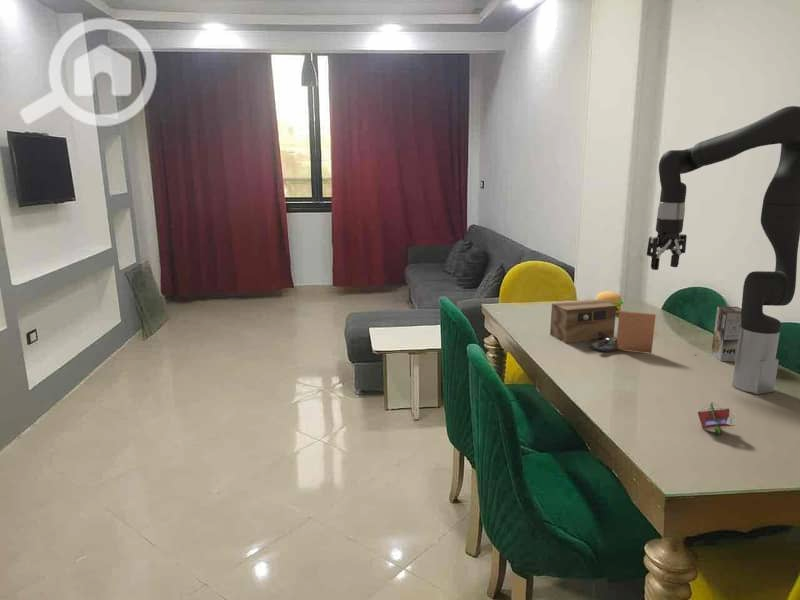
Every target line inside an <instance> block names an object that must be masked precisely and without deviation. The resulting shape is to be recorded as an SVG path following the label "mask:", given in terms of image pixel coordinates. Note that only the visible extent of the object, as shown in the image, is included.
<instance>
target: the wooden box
mask: <svg viewBox="0 0 800 600" xmlns="http://www.w3.org/2000/svg"><path fill="white" fill-rule="evenodd" d="M615 325H616V305H613V304H610V303H608V302H605V301H602V300H600V299H598V300H594V299H590V300H589V299H587V300H577V301H576V300H575V301H565V302H563V301H562V302H554V303H553V302H552V303H551V313H550V330H549V335H550V336H551V335H552V337H553V336H554V338H555V337H556V338H555V339H556V340H559V341H561V342H562V341H563V342H562V343H564V344H567V343H579V342H587V341H590V340H591V339H593V338H601V337H599V336H598V331H602V332H604V333H605V334H607V335H608V336H610V337H614V338H615ZM578 341H579V342H578Z"/></svg>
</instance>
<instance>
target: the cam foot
mask: <svg viewBox="0 0 800 600" xmlns="http://www.w3.org/2000/svg"><path fill="white" fill-rule="evenodd" d="M656 316H657V315H656V313H648V312H647V313H646V312H637V311H626V310H621V311H620V312H619V313H618V323H617V325H618V326H617V335H616V337H615V336H614V337H610V336H608V335H607V334H605V333H604V332H602V331H598V336H599V337H601V338H593V339H591V340H589V347H590V348H591V349H593V350H595V351H598V352H604V353H605V352H606V353H607V352H609V353H611V352H615V351H617V350H622V351H631V352H632V351H633V352H639V353H648V354H652V351H653V343H654V333H655V326H656V325H655V323H656Z"/></svg>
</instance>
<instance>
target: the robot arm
mask: <svg viewBox="0 0 800 600" xmlns="http://www.w3.org/2000/svg"><path fill="white" fill-rule="evenodd" d="M777 144H780V146H781V147H780V155H779V163H778V166H777V169H776V171H775V173H774V175H773V177H772V179H771V180H770V183H769V185H768V187H767V188H766V191H765V193H764V197H763V201H762V205H761V213H760V214H761V215H760V226H761V227H762V230H763V232H764V234H765V236H766V238H767V240H768V241H769V243H770V245H771V247H772V248H773V252H774V255H775V270H774V271H765V270H763V271H761V270H760V271H759V270H758V271H757V270H756V271H751V272H749V273H748V274H747V275H746V277H745V279H744V282H743V287H742V296H741V297H742V299H741V300H742V301H741V308H740V309H741V327H740V333H739V340H738V346H737V353H736V360H735V362H734V367H733V374H732V375H733V376H732V382H731V385H732V386H733V387H734V388H737V389H739V390H741V391H743V392H748V393H752V394H755V395H760V394H767V393H774V391H775V384H776V379H777V374H778V370H779V369H778V368H779V358H777V352H778V346H779V339H780V334H781V329H782V328H781V327H782V322H781V321H780V320H779V319H778V318H776V317H773V316H769V315H767V314H765V313H764V310H763V309H764V308H763V307H764V306H771V307H772V306H774V307H776V306H777V307H779V306H780V307H782V306H787V305H789V304H790V303H791V302H792V300H793V299H794V296H795V293H796V286H797V272H798V271H797V267H798V252H799V244H800V243H799V242H800V106H798V105H792V106H791V105H790V106H785V107H783V108H781V109H778V110H776V111H774V112H773V113H770V114H769V115H766V116H764V117H762V118H761V119H759V120H757V121H755V122H753V123H750V124H748V125H746V126H743V127H741V128H739V129H735V130H732V131H730V132H726V133H723V134H720V135H717V136H714V137H711V138H708V139H706V140H703V141H700V142H698V143H696V144H695V145H694V146H692V147H689V148H686V149H679V150H678V149H677V150H673V149H671V150H670V149H669V150H667V151H666V152H664V153H662V156H661V158H660V160H659V163H658V175H659V183H660V186H661V187H660V188H661V189H660V197H659V204H658V208H657V216H656V223H655V231H656V232H657V235H656V236H649V238H648V243H647V249H646V256H648V257H651V263H650V268H651V270H652V271H658V270H659V268H660V257H661V255H662V254H663V253H665V252H666V251H668V250H670V252H671V254H672V255H671V258H670V267H672V268H678V266H679V264H680V263H679V262H680V256H681V255H682V254H685V253H686V249H687V234H683V233H682V232H683V228H684V220H685V211H686V197H687V185H686V183H684V182H682V180H681V175H682V174H687V173H690V172H693V171H696V170H698V169H701V168H703V167H707V166H710V165H713V164H716V163H720V162H723V161H726V160H729V159H732V158H734V157H735V156H738V155H740V154H741V153H744V152H745V151H746V152H747V151H749V150H752V149H756V148H758V147H763V146H764V147H765V146H771V145H777Z"/></svg>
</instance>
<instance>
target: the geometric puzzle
mask: <svg viewBox="0 0 800 600" xmlns="http://www.w3.org/2000/svg"><path fill="white" fill-rule="evenodd" d="M713 404H714V402H713V401H712V402H710V405H709V404H707V405H706V406H705V407H703V408H701V409H700V410H699V411H697V415H698V418H699V422H700V425H701V428H702V430H703V429H704V430H707V431H708V432H709V430H712V429H716V430H717V433H718V434H717V433H715V432H714V431H713V430H712V433H715V434H716V435H717V436H719V437H720V436H721V435H722V434H724V432H723V433H722V431H723V429H724V428H725V429H726V427H728V428H731V427H734V426H735V418H736V417H735V415H734V414H733V412H732V411H731V409H730V408H721V407H722V405H721V404H720V405H719V406H718V404H715V406H716V407H718V409H715V406H714V405H713ZM707 406H709V408H708V409H707V410H706V409H705V410H702V409H704V408H706V407H707ZM708 429H709V430H708ZM721 433H722V434H721Z"/></svg>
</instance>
